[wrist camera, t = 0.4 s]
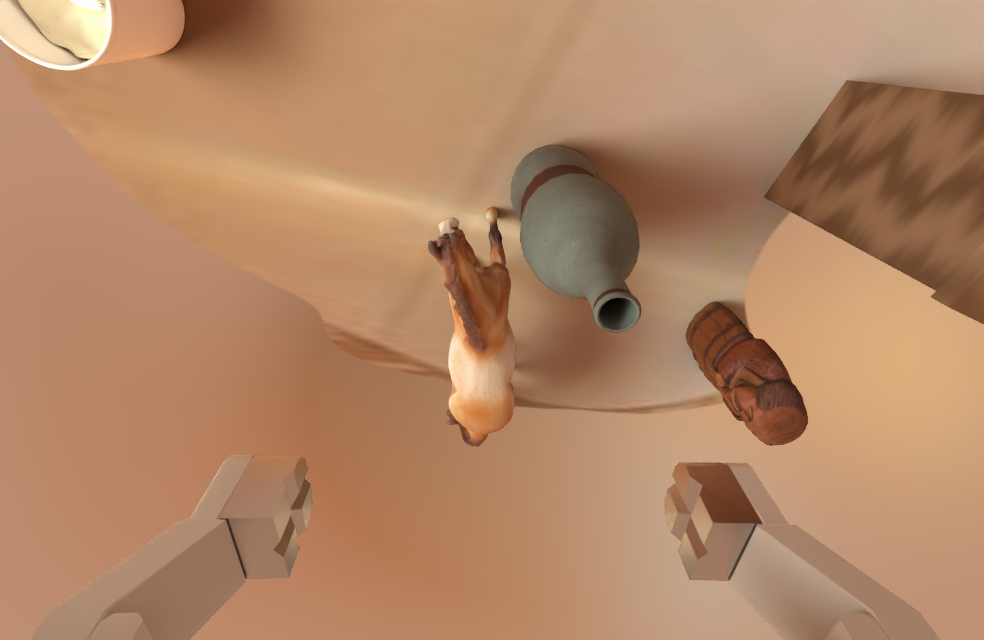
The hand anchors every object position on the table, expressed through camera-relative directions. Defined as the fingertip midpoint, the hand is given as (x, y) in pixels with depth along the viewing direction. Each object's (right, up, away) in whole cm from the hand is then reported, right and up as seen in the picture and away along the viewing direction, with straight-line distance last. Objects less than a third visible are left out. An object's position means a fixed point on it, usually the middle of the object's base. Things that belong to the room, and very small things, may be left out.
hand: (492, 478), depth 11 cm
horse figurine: (-5, +6, +50) cm, 51 cm away
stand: (+38, +21, +43) cm, 61 cm away
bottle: (+6, +19, +44) cm, 48 cm away
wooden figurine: (+29, +1, +54) cm, 62 cm away
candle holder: (-33, +33, +35) cm, 58 cm away
